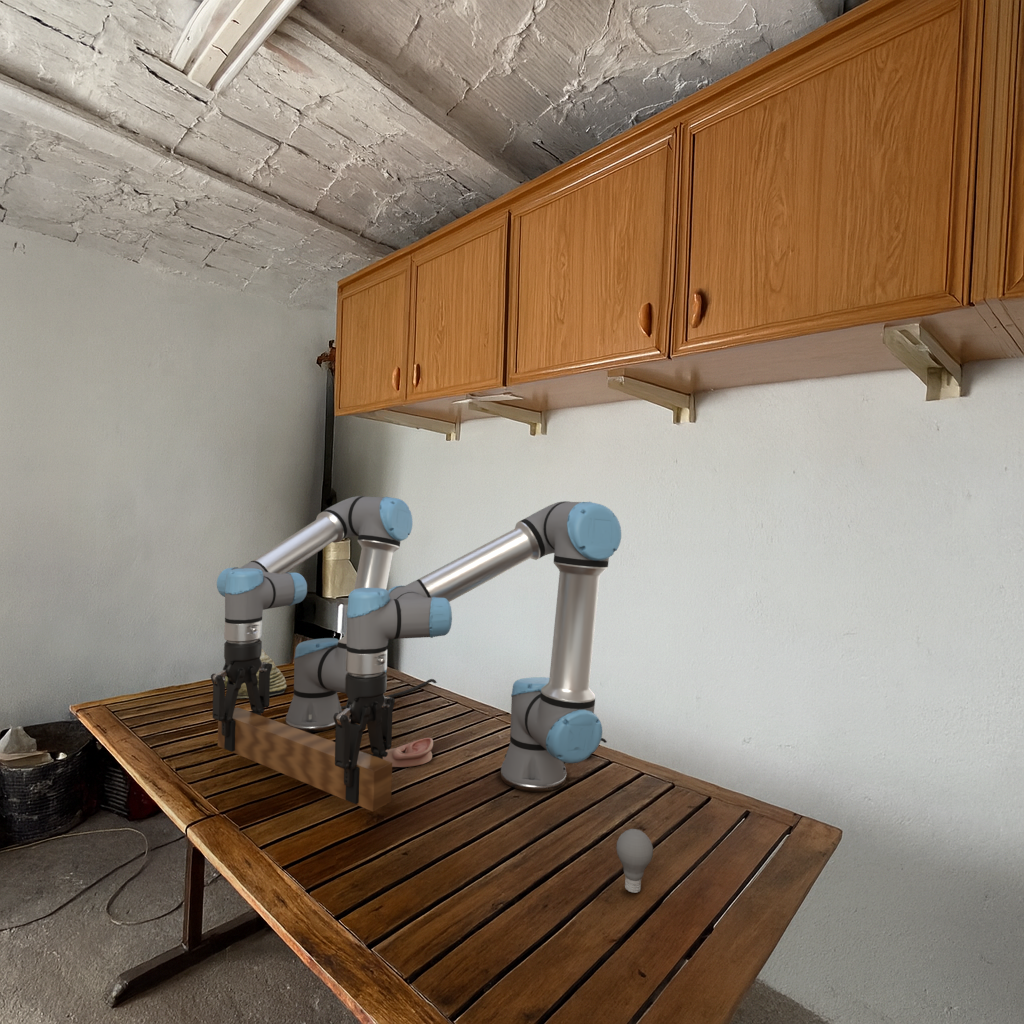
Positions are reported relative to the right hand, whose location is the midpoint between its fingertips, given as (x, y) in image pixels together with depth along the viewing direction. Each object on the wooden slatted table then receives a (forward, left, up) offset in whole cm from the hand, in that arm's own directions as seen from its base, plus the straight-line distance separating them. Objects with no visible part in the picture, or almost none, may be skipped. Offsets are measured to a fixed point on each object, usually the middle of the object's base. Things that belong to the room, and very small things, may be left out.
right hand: (363, 795), depth 118 cm
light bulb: (-29, +41, -8) cm, 51 cm away
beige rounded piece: (-24, -27, -8) cm, 37 cm away
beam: (+6, -18, -1) cm, 19 cm away
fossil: (-10, -95, -8) cm, 96 cm away
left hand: (+12, -36, 0) cm, 38 cm away
